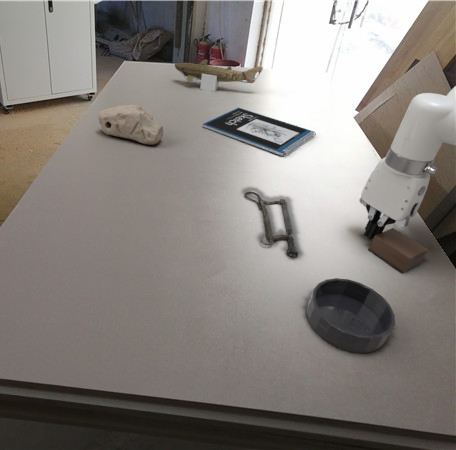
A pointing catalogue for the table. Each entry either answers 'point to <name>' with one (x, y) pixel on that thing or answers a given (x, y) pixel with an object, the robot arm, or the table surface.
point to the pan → (350, 315)
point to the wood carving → (214, 74)
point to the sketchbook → (260, 131)
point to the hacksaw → (292, 248)
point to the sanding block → (397, 250)
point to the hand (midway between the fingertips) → (370, 235)
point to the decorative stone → (131, 124)
